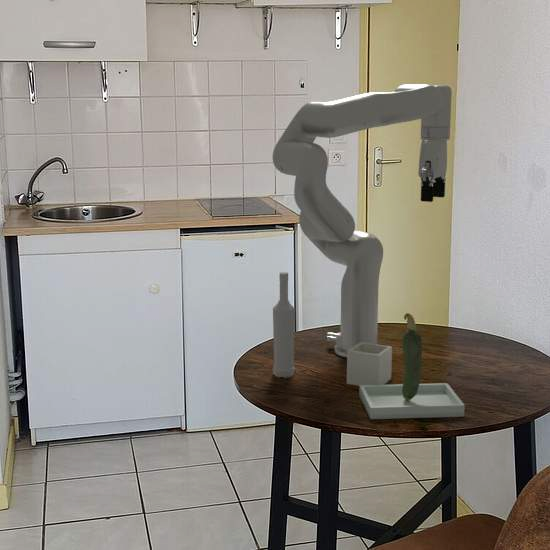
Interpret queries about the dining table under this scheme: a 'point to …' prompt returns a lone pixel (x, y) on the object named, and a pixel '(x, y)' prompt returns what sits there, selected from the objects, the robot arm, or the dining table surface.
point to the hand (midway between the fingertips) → (432, 199)
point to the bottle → (283, 332)
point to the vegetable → (411, 359)
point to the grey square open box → (369, 364)
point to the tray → (411, 401)
